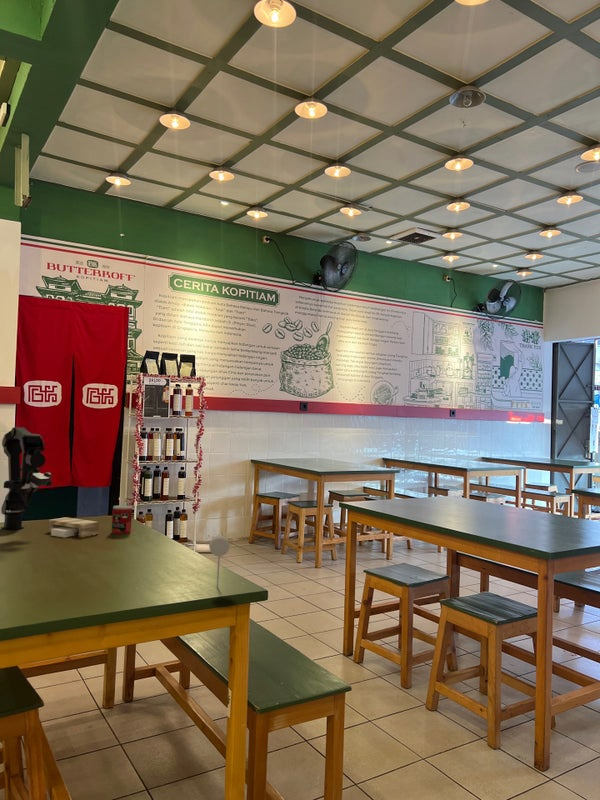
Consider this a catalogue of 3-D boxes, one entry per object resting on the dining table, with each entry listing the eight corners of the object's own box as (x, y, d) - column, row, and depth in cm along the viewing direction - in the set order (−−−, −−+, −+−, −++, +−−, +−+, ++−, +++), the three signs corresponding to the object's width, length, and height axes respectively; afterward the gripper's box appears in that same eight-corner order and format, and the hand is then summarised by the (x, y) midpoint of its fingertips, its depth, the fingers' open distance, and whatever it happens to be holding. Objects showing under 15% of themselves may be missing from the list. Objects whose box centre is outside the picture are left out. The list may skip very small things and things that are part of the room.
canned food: (107, 533, 249) (109, 506, 250) (118, 530, 257) (120, 504, 257) (123, 535, 247) (125, 508, 247) (134, 532, 255) (135, 506, 255)
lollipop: (218, 583, 181) (220, 533, 181) (231, 587, 177) (234, 536, 177) (202, 587, 176) (205, 535, 176) (216, 591, 172) (219, 539, 173)
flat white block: (51, 535, 240) (51, 529, 240) (73, 531, 250) (73, 525, 251) (64, 537, 237) (64, 531, 237) (86, 533, 248) (86, 527, 248)
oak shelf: (48, 532, 246) (49, 519, 246) (65, 529, 254) (65, 517, 254) (82, 537, 238) (83, 524, 239) (98, 534, 247) (99, 521, 247)
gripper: (25, 468, 225) (22, 510, 225) (62, 466, 242) (60, 504, 242) (3, 466, 230) (1, 507, 229) (42, 464, 247) (39, 502, 246)
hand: (26, 505), depth 236 cm, fingers closed
